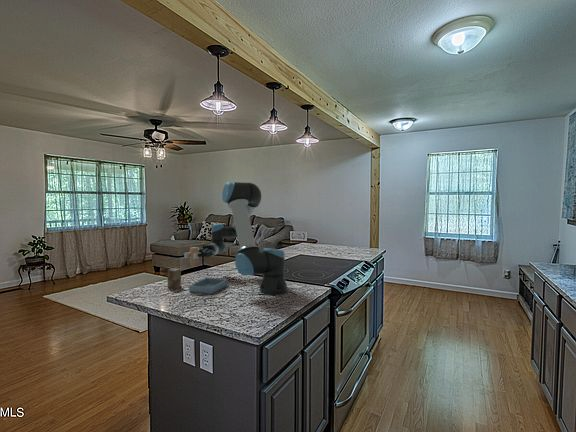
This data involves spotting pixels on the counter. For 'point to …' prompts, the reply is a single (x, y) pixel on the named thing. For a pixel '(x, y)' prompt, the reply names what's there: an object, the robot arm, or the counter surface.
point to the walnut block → (174, 278)
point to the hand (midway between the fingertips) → (189, 256)
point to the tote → (208, 285)
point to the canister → (192, 251)
